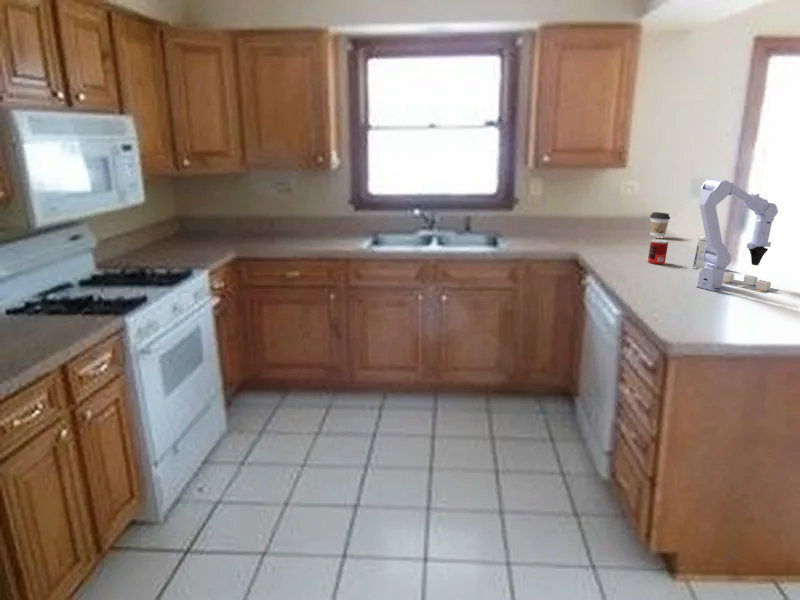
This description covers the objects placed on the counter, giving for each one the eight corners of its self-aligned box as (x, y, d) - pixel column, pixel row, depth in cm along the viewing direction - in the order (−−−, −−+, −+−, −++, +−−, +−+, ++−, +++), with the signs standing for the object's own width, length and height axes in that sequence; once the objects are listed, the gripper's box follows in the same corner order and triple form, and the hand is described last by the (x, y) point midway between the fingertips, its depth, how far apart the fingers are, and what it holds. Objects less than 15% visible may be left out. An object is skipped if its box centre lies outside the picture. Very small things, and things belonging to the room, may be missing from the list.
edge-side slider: (765, 290, 245) (767, 282, 244) (755, 288, 248) (757, 280, 247) (769, 290, 247) (771, 281, 246) (759, 287, 250) (761, 279, 249)
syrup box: (695, 266, 292) (701, 236, 289) (709, 268, 289) (714, 238, 285) (692, 268, 288) (698, 237, 284) (706, 270, 285) (711, 239, 281)
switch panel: (764, 295, 243) (765, 293, 242) (711, 283, 260) (712, 280, 260) (780, 292, 249) (780, 289, 249) (727, 280, 267) (727, 277, 266)
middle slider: (752, 285, 253) (754, 277, 252) (743, 283, 257) (744, 275, 256) (756, 284, 255) (758, 276, 254) (746, 282, 258) (748, 274, 257)
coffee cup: (648, 239, 365) (652, 214, 361) (644, 236, 376) (648, 211, 372) (669, 240, 363) (673, 215, 359) (664, 237, 374) (668, 212, 370)
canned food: (667, 263, 297) (670, 240, 294) (660, 265, 291) (664, 242, 288) (651, 260, 302) (654, 238, 299) (645, 262, 296) (648, 240, 293)
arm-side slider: (729, 282, 257) (730, 274, 256) (720, 280, 260) (721, 272, 259) (733, 281, 259) (734, 273, 258) (723, 279, 262) (725, 271, 261)
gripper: (762, 234, 242) (755, 268, 246) (781, 232, 250) (774, 265, 253) (744, 231, 248) (737, 264, 251) (763, 230, 255) (757, 261, 259)
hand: (754, 264), depth 253 cm, fingers closed
